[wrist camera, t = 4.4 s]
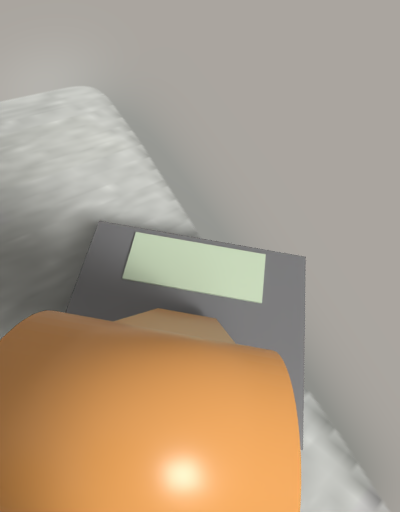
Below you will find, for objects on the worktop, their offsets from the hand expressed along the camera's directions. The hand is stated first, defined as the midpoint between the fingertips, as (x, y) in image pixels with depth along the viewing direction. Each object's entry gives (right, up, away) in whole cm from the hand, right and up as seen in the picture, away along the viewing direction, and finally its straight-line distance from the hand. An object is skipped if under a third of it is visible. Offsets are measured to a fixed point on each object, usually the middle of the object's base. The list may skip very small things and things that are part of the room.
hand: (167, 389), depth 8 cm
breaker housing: (0, -1, +10) cm, 10 cm away
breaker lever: (0, 0, +6) cm, 6 cm away
